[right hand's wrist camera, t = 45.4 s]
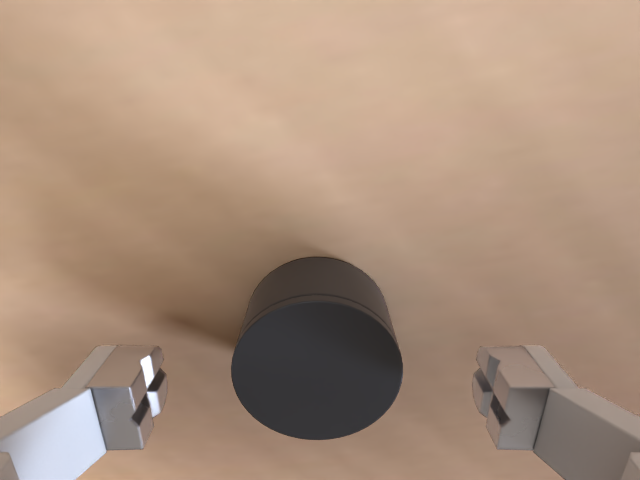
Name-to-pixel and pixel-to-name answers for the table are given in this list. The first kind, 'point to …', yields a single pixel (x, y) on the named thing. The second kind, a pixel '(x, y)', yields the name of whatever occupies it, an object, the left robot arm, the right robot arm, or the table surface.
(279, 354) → the cap
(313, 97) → the table surface
